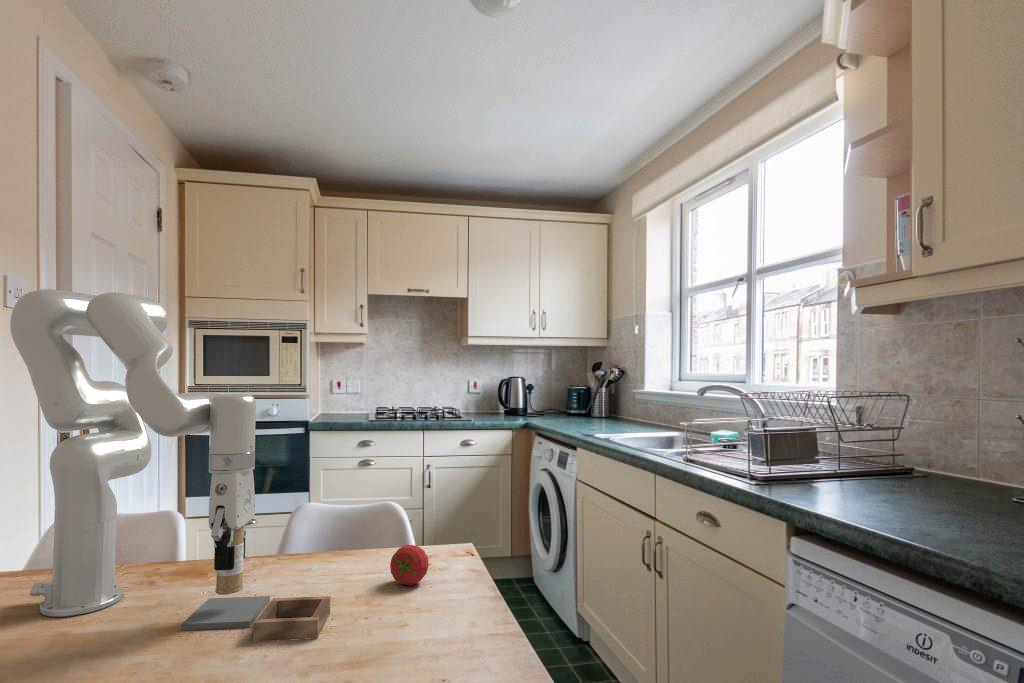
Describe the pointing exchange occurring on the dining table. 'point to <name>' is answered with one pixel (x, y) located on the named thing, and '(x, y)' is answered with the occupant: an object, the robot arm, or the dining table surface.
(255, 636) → the brown wooden square tray
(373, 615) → the dining table surface
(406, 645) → the dining table surface
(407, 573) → the tomato
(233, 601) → the mat
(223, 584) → the spice jar
